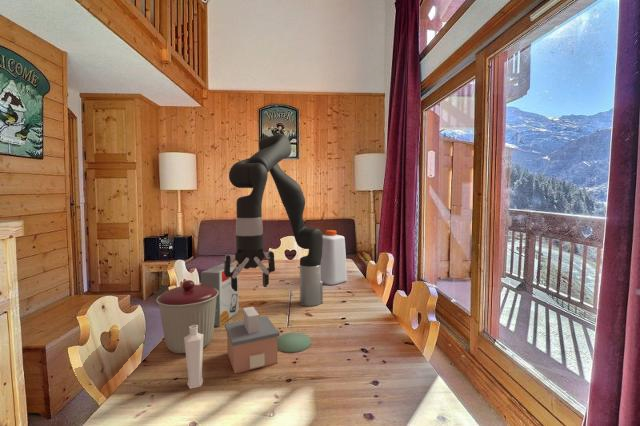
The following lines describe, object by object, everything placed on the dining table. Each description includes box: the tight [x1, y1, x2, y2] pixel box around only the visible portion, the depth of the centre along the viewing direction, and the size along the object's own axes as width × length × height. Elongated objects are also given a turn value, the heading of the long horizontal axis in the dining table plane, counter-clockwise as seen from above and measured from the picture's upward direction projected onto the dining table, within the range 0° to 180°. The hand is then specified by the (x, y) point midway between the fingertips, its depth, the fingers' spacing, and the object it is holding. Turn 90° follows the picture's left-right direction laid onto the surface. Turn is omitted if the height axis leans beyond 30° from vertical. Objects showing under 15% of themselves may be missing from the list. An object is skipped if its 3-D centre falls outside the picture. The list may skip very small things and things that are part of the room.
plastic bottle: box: [321, 229, 348, 286], centre depth 168 cm, size 15×15×28 cm
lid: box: [224, 306, 280, 346], centre depth 89 cm, size 13×13×7 cm
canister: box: [155, 279, 219, 354], centre depth 97 cm, size 18×18×21 cm
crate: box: [226, 332, 278, 374], centre depth 90 cm, size 12×13×8 cm
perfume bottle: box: [184, 325, 204, 390], centre depth 77 cm, size 5×4×15 cm
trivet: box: [277, 332, 312, 354], centre depth 99 cm, size 12×12×1 cm
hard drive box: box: [200, 263, 240, 327], centre depth 118 cm, size 16×8×20 cm, turn 168°
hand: (250, 288), depth 89 cm, fingers open, 8 cm apart
